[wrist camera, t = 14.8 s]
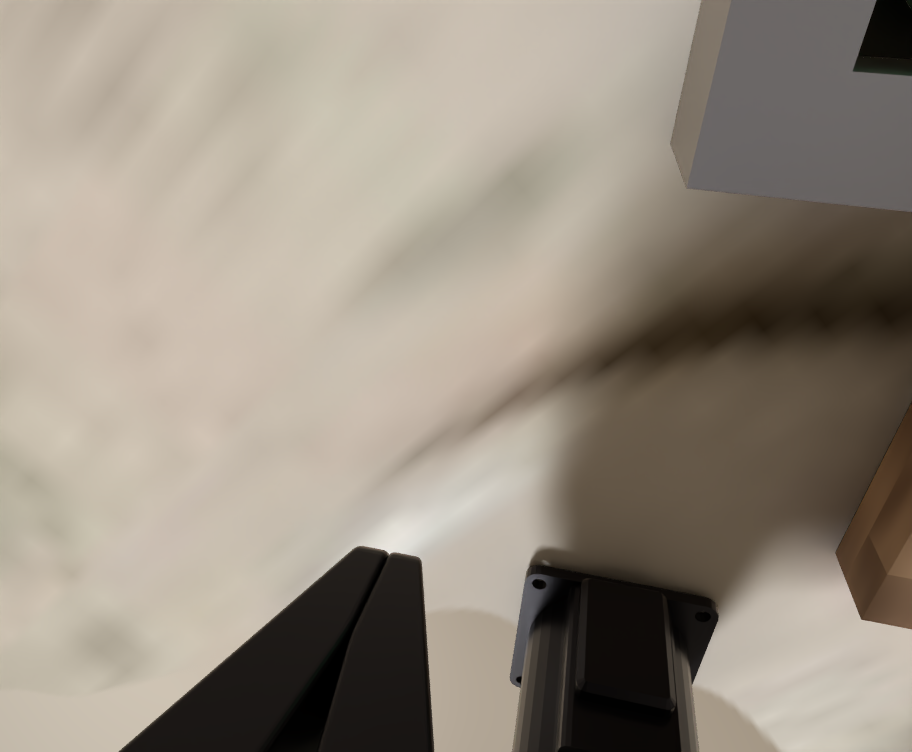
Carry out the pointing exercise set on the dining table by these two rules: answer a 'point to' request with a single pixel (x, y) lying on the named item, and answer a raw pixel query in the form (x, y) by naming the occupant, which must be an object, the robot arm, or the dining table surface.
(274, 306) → the dining table surface
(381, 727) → the robot arm
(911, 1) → the button
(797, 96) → the button housing
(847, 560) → the brown wooden pocket tray
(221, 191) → the dining table surface
